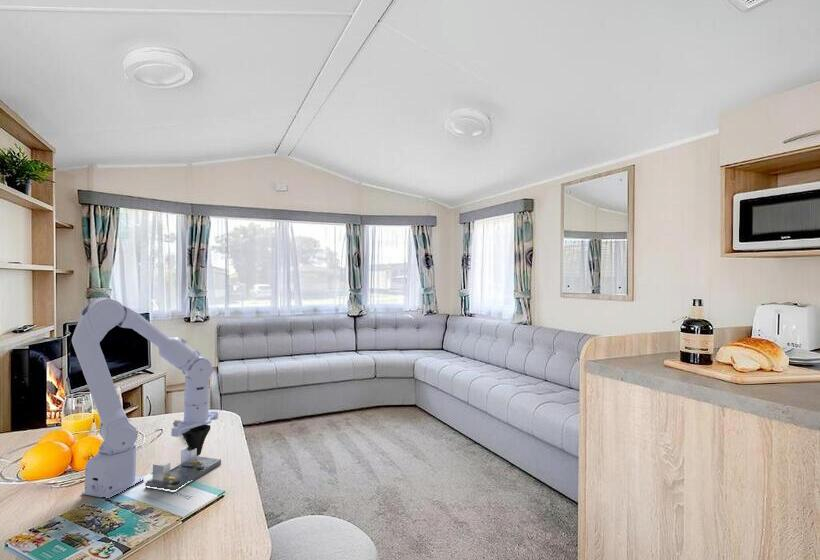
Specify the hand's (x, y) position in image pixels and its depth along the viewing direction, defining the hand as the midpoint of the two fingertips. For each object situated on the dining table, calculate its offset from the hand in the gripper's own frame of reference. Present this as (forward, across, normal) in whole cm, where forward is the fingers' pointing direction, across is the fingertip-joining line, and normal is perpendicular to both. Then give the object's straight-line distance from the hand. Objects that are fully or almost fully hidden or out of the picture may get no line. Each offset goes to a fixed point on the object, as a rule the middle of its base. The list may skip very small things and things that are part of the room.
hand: (195, 454), depth 113 cm
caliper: (+3, +21, +22) cm, 30 cm away
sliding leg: (+1, -2, -1) cm, 3 cm away
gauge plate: (+3, -5, -2) cm, 6 cm away
